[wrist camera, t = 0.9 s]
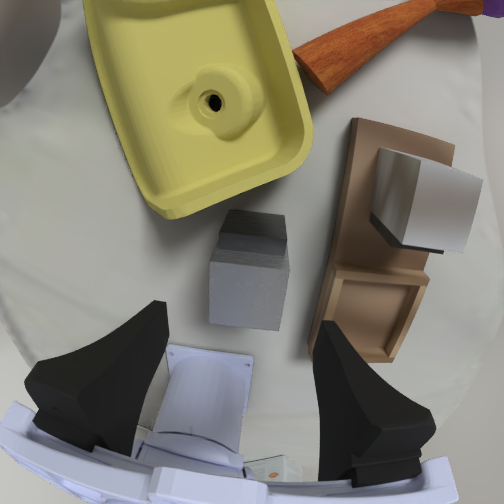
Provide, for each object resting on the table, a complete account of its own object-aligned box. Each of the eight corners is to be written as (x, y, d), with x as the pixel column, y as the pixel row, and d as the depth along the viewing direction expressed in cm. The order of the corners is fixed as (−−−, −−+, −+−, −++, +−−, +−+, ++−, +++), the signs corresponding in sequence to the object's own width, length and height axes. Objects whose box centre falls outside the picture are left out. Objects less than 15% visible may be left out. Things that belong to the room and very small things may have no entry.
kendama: (346, 104, 12) (543, -5, 4) (266, 19, 11) (484, -68, 3) (340, 118, 17) (509, 17, 9) (284, 53, 16) (462, -36, 9)
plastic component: (322, 162, 16) (150, 232, 14) (266, 153, 22) (144, 203, 20) (226, -102, 7) (62, -70, 4) (197, -51, 13) (74, -20, 11)
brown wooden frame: (382, 345, 24) (404, 404, 18) (307, 342, 24) (314, 407, 18) (443, 142, 16) (507, 159, 10) (352, 117, 16) (395, 118, 10)
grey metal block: (277, 278, 22) (278, 331, 16) (223, 272, 22) (208, 323, 16) (286, 213, 20) (292, 251, 14) (227, 207, 20) (210, 243, 14)
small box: (259, 474, 38) (254, 540, 27) (237, 462, 36) (229, 534, 25) (303, 466, 36) (304, 537, 24) (284, 453, 34) (282, 533, 22)
